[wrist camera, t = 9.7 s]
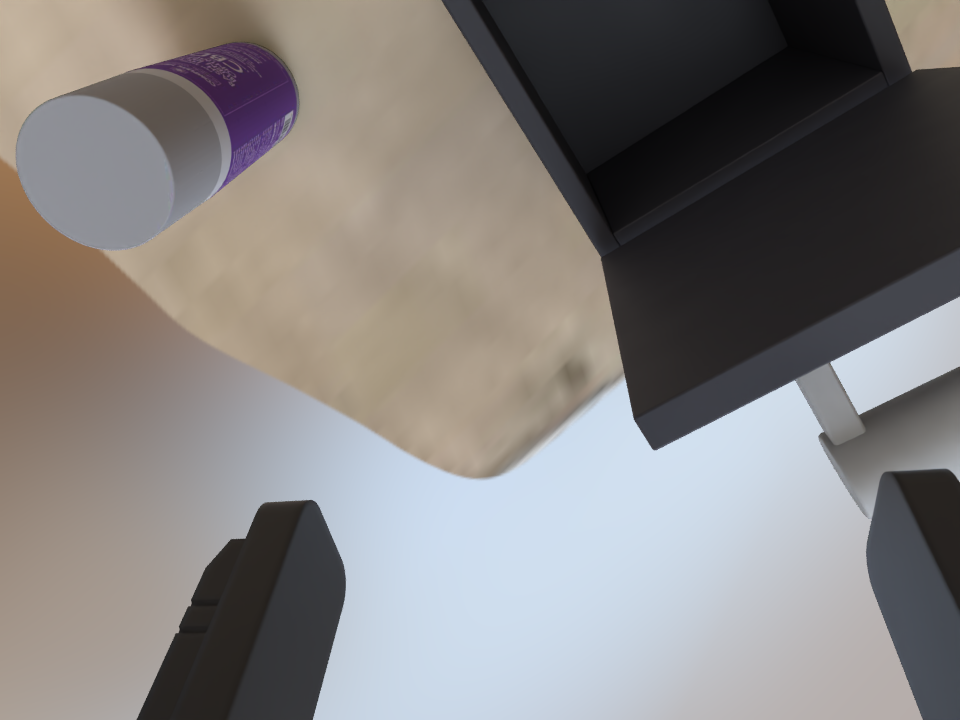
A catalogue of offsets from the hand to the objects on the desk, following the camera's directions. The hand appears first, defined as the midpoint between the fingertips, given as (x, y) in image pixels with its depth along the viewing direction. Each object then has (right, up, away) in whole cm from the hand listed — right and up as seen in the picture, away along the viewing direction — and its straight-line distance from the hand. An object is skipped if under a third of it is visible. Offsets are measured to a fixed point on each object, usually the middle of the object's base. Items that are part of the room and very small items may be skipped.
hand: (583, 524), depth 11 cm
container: (-12, +15, +24) cm, 31 cm away
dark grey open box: (+4, +18, +21) cm, 29 cm away
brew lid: (+7, +7, +8) cm, 12 cm away
